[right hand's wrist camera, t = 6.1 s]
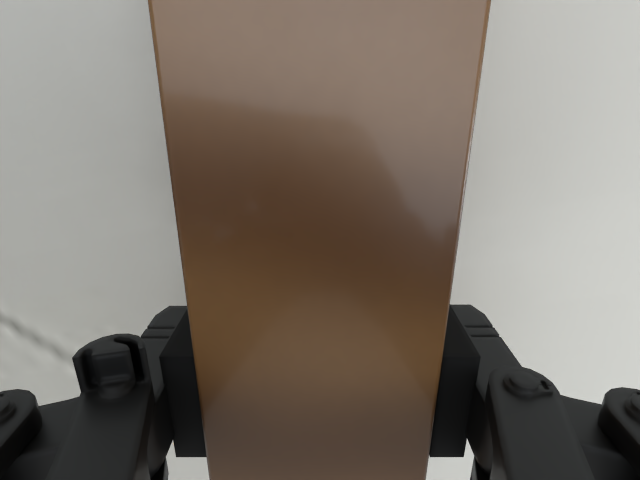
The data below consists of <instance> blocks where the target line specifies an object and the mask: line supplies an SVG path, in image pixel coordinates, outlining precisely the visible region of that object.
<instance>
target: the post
mask: <svg viewBox="0 0 640 480" xmlns="http://www.w3.org/2000/svg"><path fill="white" fill-rule="evenodd" d="M490 4H491V0H148V5H149V13H150V21H151V29H152V36H153V44H154V52H155V60H156V67H157V75H158V83H159V91H160V98H161V106H162V114H163V122H164V130H165V137H166V145H167V153H168V161H169V168H170V176H171V184H172V192H173V199H174V207H175V215H176V223H177V230H178V238H179V246H180V254H181V261H182V269H183V277H184V285H185V292H186V300H187V308H188V316H189V323H190V331H191V339H192V347H193V354H194V362H195V370H196V378H197V386H198V393H199V401H200V409H201V417H202V424H203V432H204V440H205V448H206V455H207V463H208V471H209V479H210V480H426V473H427V466H428V459H429V451H430V444H431V437H432V429H433V422H434V415H435V407H436V400H437V393H438V385H439V378H440V371H441V363H442V356H443V349H444V341H445V334H446V327H447V319H448V312H449V305H450V297H451V290H452V283H453V275H454V268H455V261H456V253H457V246H458V239H459V231H460V224H461V217H462V209H463V202H464V195H465V187H466V180H467V173H468V165H469V158H470V151H471V143H472V136H473V129H474V121H475V114H476V107H477V100H478V92H479V85H480V78H481V70H482V63H483V56H484V48H485V41H486V34H487V26H488V19H489V12H490Z"/></svg>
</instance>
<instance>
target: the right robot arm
mask: <svg viewBox="0 0 640 480" xmlns="http://www.w3.org/2000/svg"><path fill="white" fill-rule="evenodd" d="M72 359H73V363H74V367H75V371H76V374H77V378H78V382H79V386H80V390H81V394H80V396H79V397H76V398H73V399H69V400H65V401H60V402H56V403H51V404H47V405H42V406H38V403H37V400H36V397H35V395H33V394H32V393H31V392H30V391H27V390H20V389H15V390H8V391H2V392H0V480H168V467H167V461H166V455H167V452H168V450H169V448H170V445H171V443H172V440H173V442H174V447H175V453H176V457H207V455H206V448H205V440H204V432H203V424H202V417H201V409H200V401H199V393H198V386H197V378H196V370H195V362H194V354H193V347H192V339H191V331H190V323H189V316H188V308H187V306H169V307H167V308H166V309H164V310H163V311H161V312H160V313H159V314H157V315H156V316H155V317H154V318H153V320H152V321H151V323H150V324H149V325H148V328H147V329H146V330H145V331H144V333H143V334H142V335H141V338H140V337H139V336H136V335H132V334H114V335H110V336H106V337H102V338H99V339H97V340H95V341H92V342H90V343H88V344H87V345H85V346H84V347H82V348H81V349H79V350H78V352H77V353H76V354H75V355H74V356H73V358H72ZM467 439H468V441H469V444H470V446H471V449H472V451H473V453H474V461H473V466H472V472H471V477H470V480H640V390H638V389H631V388H623V387H621V388H615V389H611V390H609V391H608V392H607V393H606V394H605V396H604V399H603V402H602V405H601V404H597V403H592V402H587V401H583V400H578V399H574V398H570V397H566V396H563V395H560V393H559V391H558V390H557V388H556V387H555V385H554V384H553V383H552V382H551V381H550V380H548V379H547V378H546V377H544V376H543V375H541V374H539V373H537V372H535V371H533V370H531V369H528V368H524V367H522V366H521V365H520V363H519V362H518V361H517V359H516V358H515V356H514V355H513V354H512V352H511V351H510V349H509V348H508V347H507V345H506V344H505V342H504V341H503V340H502V338H501V337H499V334H498V333H497V331H496V330H495V328H493V327H492V324H491V323H490V321H489V320H488V319H487V317H486V316H485V314H483V313H482V312H480V311H479V310H477V309H476V308H475V307H473V306H472V305H449V312H448V319H447V327H446V334H445V341H444V349H443V356H442V363H441V371H440V378H439V385H438V393H437V400H436V407H435V415H434V422H433V429H432V437H431V444H430V451H429V455H430V457H464V452H465V446H466V440H467Z"/></svg>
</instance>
